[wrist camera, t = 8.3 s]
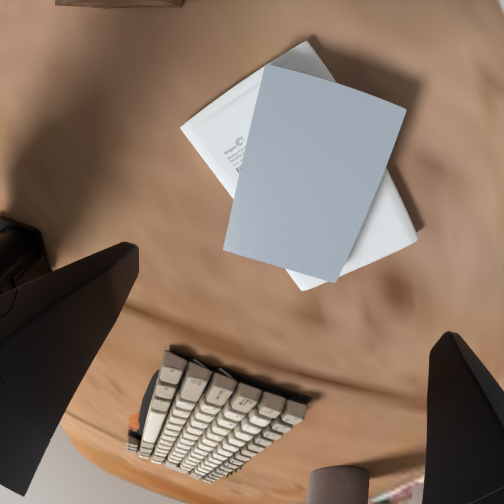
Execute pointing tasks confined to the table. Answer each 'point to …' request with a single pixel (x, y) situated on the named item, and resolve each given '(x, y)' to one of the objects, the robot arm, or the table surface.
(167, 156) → the table surface
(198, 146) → the external hard drive
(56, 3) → the box
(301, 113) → the lid
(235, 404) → the mechanical keyboard
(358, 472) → the pillar candle
